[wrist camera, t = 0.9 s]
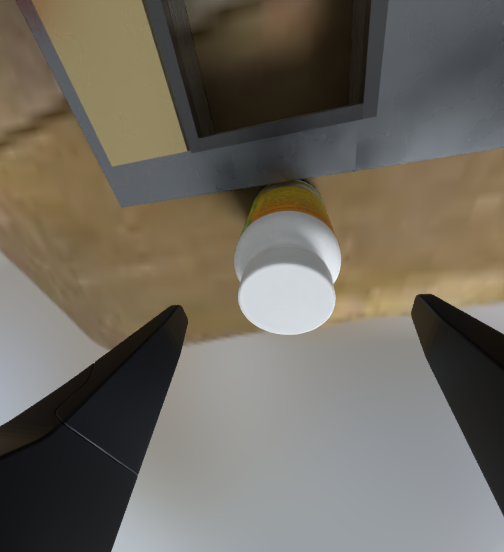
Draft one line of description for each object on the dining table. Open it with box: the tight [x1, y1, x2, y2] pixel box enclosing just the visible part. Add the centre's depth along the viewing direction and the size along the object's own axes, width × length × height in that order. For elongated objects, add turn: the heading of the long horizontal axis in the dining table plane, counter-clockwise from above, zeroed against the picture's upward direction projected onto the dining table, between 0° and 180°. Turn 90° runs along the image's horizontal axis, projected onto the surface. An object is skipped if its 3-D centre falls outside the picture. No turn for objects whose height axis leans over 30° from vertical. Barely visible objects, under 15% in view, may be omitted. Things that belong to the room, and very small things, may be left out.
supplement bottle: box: [234, 180, 341, 335], centre depth 13 cm, size 5×5×10 cm
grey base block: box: [16, 0, 504, 207], centre depth 10 cm, size 22×14×3 cm, turn 101°
